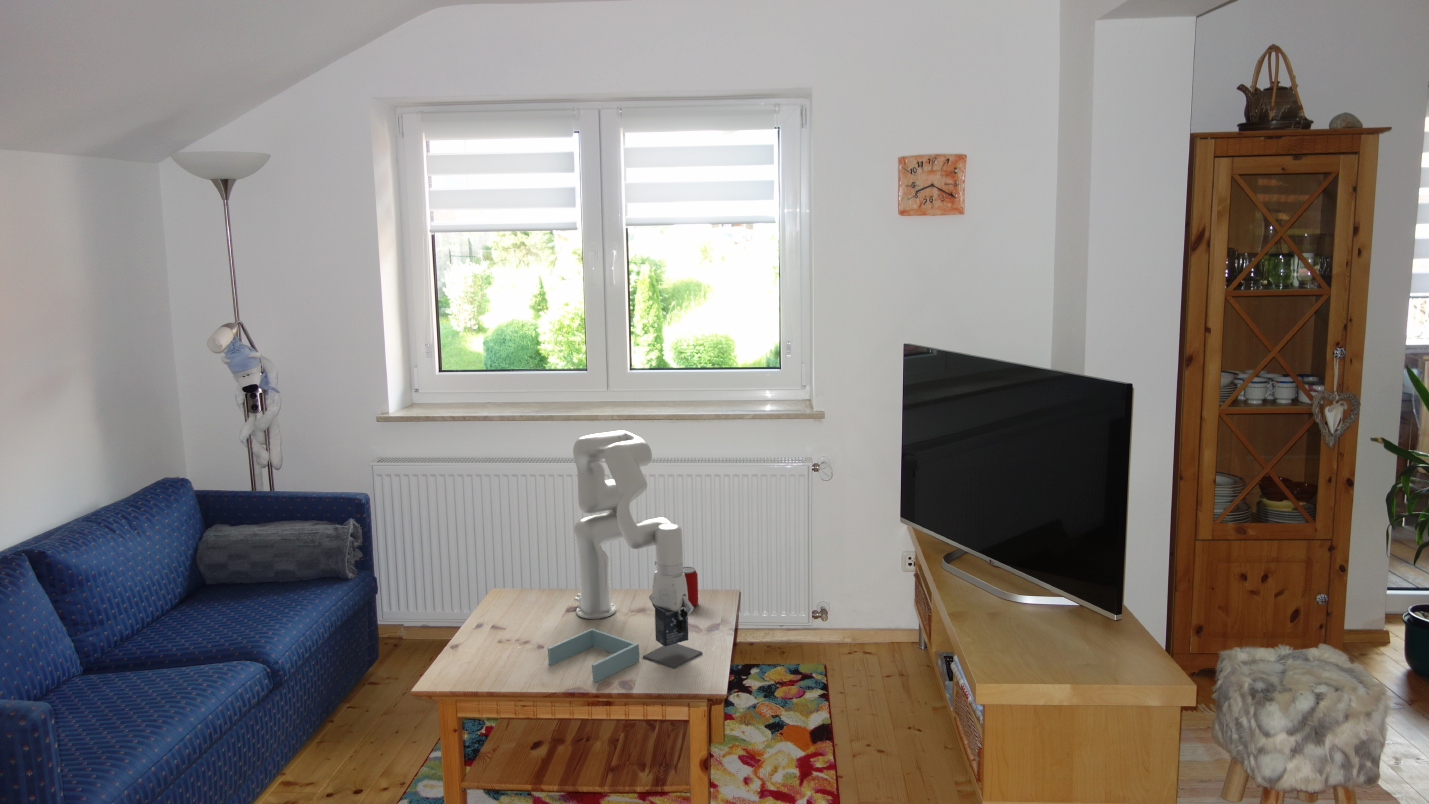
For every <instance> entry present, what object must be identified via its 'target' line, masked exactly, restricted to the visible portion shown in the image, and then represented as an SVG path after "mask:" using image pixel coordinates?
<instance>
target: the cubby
mask: <svg viewBox="0 0 1429 804" xmlns="http://www.w3.org/2000/svg"><path fill="white" fill-rule="evenodd" d="M639 645H640V643H637V642H634V641H631V640H628V639H625V638H622V637H619V636H616V635H613V634H611V633H608V632H604V631H602V630H598V629H596V628H593V627H591V628H589V629H587V630H585V631H583V632H580V633H578V634H576V635H573V636H571V637H569V638H566V639H564V640H562V641H560V642H558V643H555V644H553V645H550V646H548V647H547V660H548V665H549V666H552V665H553V666H554V665H555V664H557V663H559V662H562V661H564V660H566V659H568V658H571V657H572V656H575V655H576V654H579V653H582V652H583V651H585V650H587V649H590V648H592V647H594V648H597V649H599V650H601V651H605V652H608V653H611V654H610V655H609V656H606V657H605V658H602V659H600V660H598V661H596V662H594V663H592V664H591V670H592V671H591V672H592V683H599V682H600V681H603V680H604V679H606V678H608V677H611V676H612V675H615V674H616V673H617V672H620V671H622V670H624V669H625V668H627V667H630V666H631V665H634V664H635V663H638V662H639V661H640V646H639Z"/></svg>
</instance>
